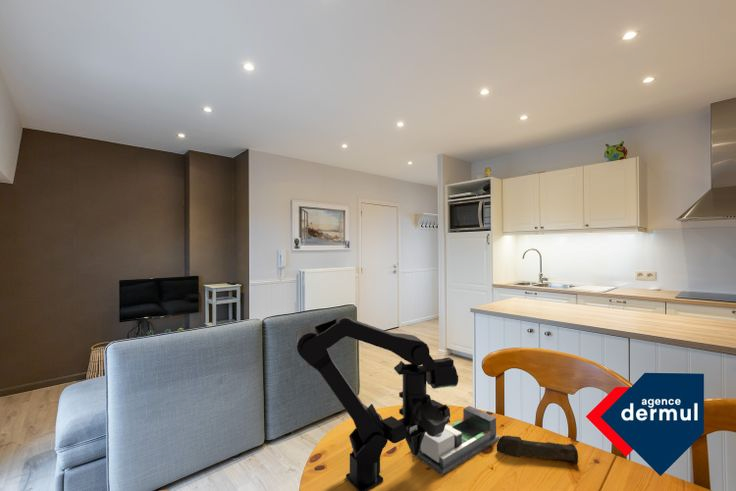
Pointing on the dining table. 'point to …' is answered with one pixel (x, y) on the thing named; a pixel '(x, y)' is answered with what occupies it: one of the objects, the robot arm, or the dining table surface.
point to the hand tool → (536, 449)
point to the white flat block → (455, 435)
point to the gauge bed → (466, 440)
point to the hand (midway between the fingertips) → (414, 454)
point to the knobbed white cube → (437, 444)
